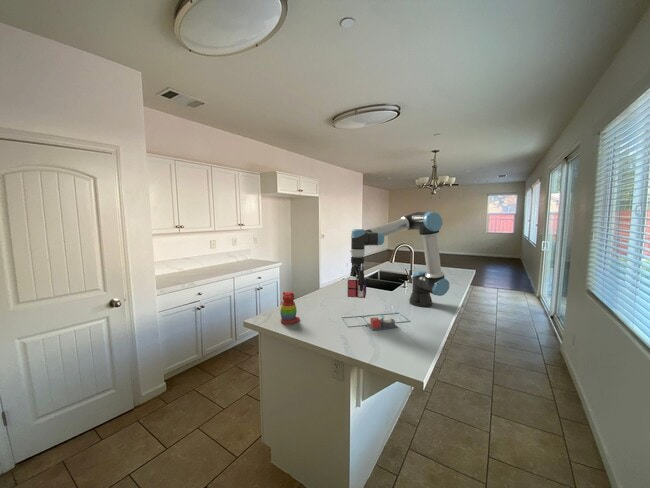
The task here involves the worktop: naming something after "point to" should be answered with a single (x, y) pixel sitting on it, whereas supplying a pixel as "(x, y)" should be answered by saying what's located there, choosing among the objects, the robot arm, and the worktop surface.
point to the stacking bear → (288, 309)
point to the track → (373, 315)
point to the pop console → (381, 324)
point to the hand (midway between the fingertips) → (356, 293)
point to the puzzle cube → (355, 287)
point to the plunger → (387, 320)
